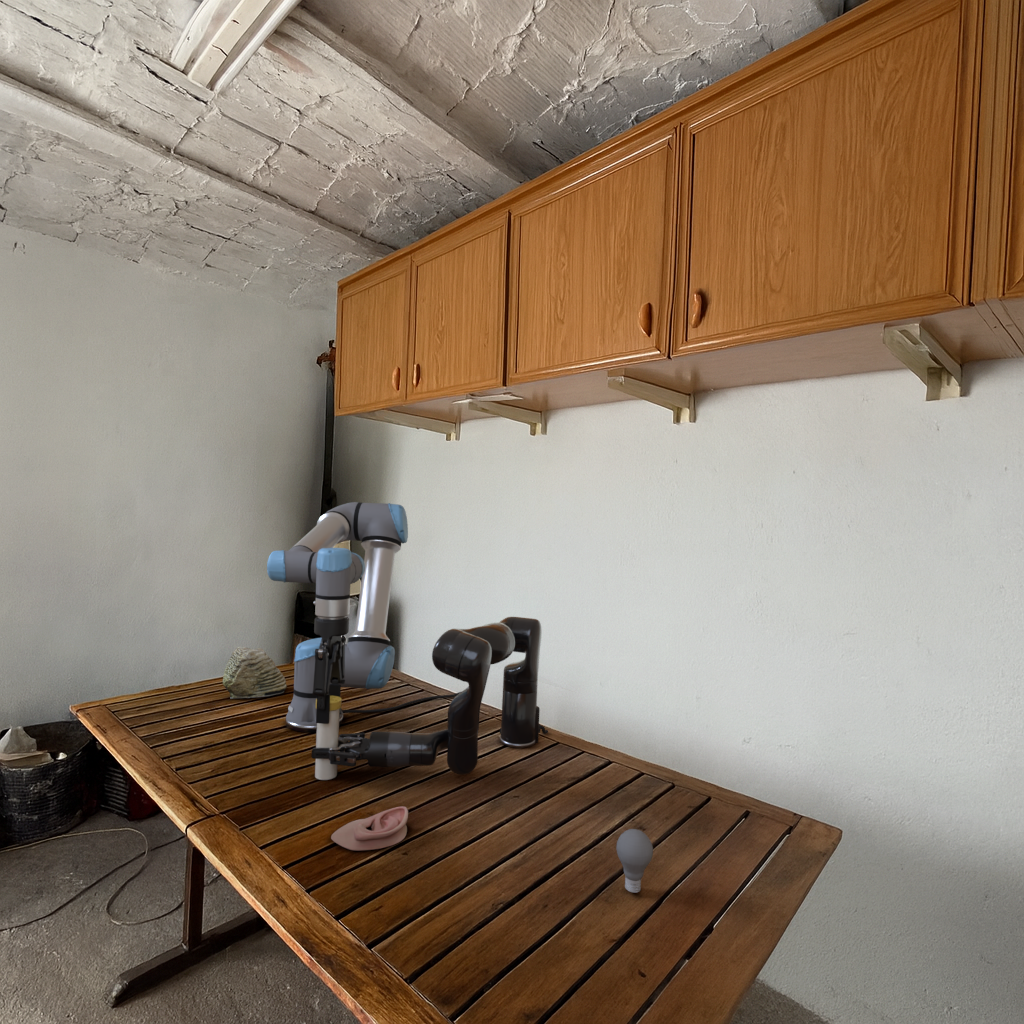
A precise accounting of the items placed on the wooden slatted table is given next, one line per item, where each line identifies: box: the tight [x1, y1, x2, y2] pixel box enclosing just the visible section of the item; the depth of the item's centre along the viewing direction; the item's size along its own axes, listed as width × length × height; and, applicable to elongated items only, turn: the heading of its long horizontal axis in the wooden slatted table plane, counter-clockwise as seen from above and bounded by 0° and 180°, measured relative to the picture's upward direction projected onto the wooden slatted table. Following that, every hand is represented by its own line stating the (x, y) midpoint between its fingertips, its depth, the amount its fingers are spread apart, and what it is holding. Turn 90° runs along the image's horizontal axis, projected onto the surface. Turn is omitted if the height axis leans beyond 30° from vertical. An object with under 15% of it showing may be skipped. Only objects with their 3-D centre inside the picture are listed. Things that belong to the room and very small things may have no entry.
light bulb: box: [615, 828, 654, 894], centre depth 106 cm, size 6×6×10 cm
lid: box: [316, 696, 343, 711], centre depth 144 cm, size 6×6×2 cm
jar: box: [314, 709, 340, 781], centre depth 144 cm, size 5×5×17 cm
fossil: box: [222, 646, 288, 699], centre depth 198 cm, size 9×18×15 cm, turn 132°
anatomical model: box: [330, 805, 409, 852], centre depth 119 cm, size 13×4×12 cm
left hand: (328, 717), depth 144 cm, fingers open, 6 cm apart
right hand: (315, 748), depth 144 cm, fingers closed on jar, 5 cm apart
